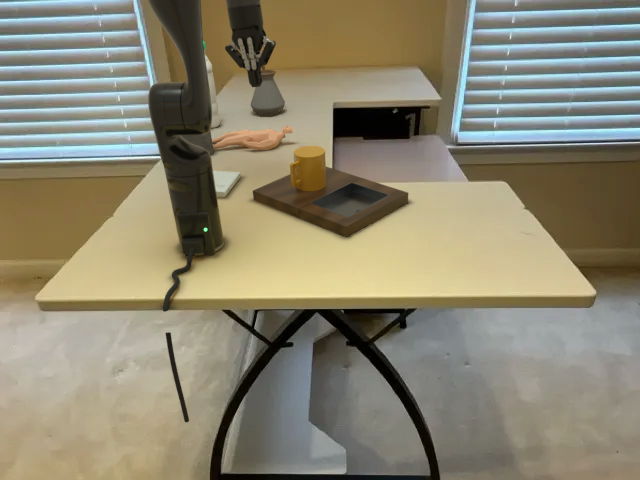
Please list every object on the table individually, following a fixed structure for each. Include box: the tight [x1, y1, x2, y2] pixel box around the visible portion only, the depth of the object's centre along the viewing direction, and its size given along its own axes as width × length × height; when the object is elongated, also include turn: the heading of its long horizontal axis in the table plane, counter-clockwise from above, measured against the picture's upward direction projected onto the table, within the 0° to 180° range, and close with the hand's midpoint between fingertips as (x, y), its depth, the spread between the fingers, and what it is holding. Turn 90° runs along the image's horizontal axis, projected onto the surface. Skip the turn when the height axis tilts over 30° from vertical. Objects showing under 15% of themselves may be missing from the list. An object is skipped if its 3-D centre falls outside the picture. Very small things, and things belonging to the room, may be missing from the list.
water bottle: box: [203, 40, 221, 130], centre depth 184 cm, size 7×7×25 cm
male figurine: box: [212, 125, 294, 151], centre depth 175 cm, size 11×5×25 cm
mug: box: [289, 145, 327, 191], centre depth 142 cm, size 10×7×8 cm
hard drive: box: [213, 170, 241, 198], centre depth 152 cm, size 2×8×12 cm
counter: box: [252, 166, 409, 238], centre depth 142 cm, size 30×22×2 cm
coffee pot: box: [250, 65, 286, 117], centre depth 200 cm, size 21×12×15 cm, turn 8°
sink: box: [310, 182, 390, 218], centre depth 139 cm, size 12×15×2 cm
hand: (256, 86), depth 141 cm, fingers closed
